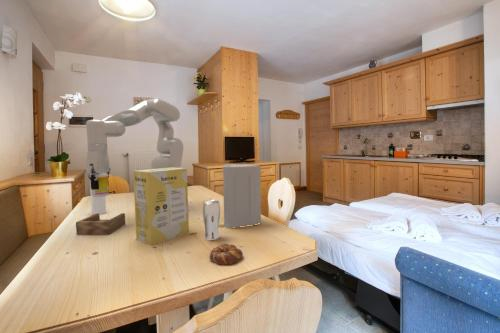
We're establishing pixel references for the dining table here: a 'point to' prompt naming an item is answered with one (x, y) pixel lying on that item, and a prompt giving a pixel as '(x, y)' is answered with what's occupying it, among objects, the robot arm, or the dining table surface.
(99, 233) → the dock
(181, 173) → the pasta box
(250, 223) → the paper bag
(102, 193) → the supplement bottle
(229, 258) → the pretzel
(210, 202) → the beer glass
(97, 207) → the milk
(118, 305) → the dining table surface
